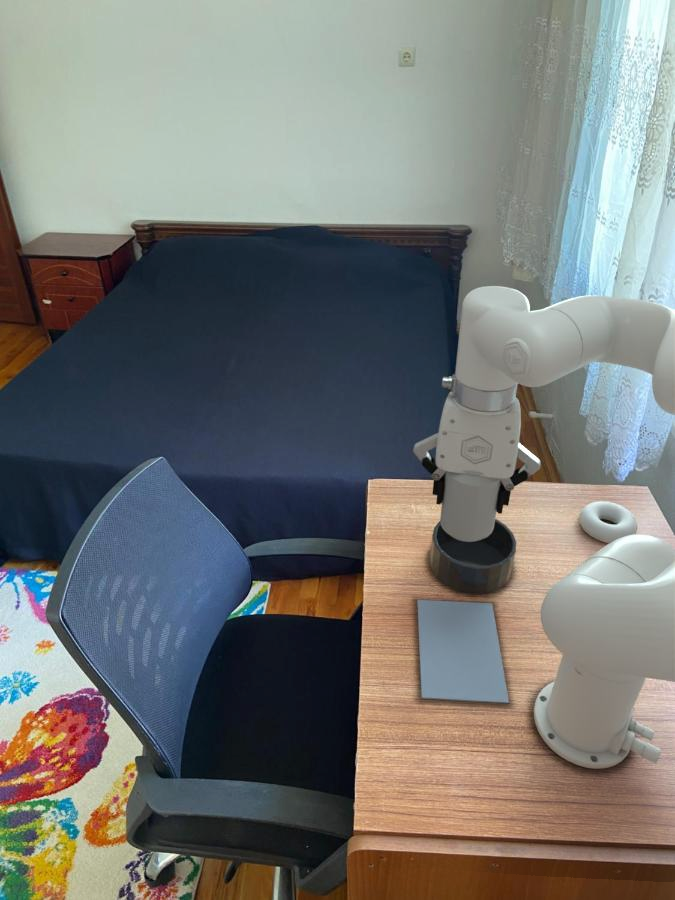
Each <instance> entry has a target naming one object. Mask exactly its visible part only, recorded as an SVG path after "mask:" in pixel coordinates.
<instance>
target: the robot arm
mask: <svg viewBox="0 0 675 900" xmlns="http://www.w3.org/2000/svg"><path fill="white" fill-rule="evenodd" d="M530 306H531V305H530V301H529V299H528V297H527V296H526V295H525V294H523V293H522V292H521V291H520V290H517V289H516V288H515V289H514V288H511V287H507V286H500V285H488V286H481V287H477V288H474V289H472V290H470V291H469V292H468V293H467V294H466V296H465V297H464V298H463V301H462V305H461V311H460V313H461V314H460V323H459V332H458V334H459V335H458V343H457V352H456V363H455V371H454V374H453V373H452V376H450V375H449V376H443V377H442V380H441V381H442V382H441V388H446V389H447V390H450V392H449V393H448V395H447V397H446V398H445V401H444V404H443V408H442V412H441V417H440V421H439V427H438V432H437V433H435V434H432V435H430V436H428V437H426V438H424V439H422V440H420V441H418V442H416V443H415V444H414V445H413V449H412V453H413V454H414V455H415V456H416V458H417V459H418V460H419V461H420V462H421V466H422V467H423V469H425V470H426V471H427V472H428V473H429V474H430V475H431V479H432V480H433V483H432V494H431V495H433V496H436V503H435V504H436V505H442V499H443V489H444V480H445V473H446V472H447V471H448V472H453V473H461V474H466V473H465V472H463V471H472V472H479V473H483V474H482V475H480V476H483V477H489V478H497V479H500V480H501V486H500V492H499V498H498V504H497V512H496V513H497V514H499V515H502V513H503V509H504V506H508V507H509V505H510V499H511V493H512V491H513V490H514V489H515V487H517V486H518V485H521V484H522V483H524V482H525V481H527V480H528V478H529V477H531V476H533V475H534V474H535V473H537V472H538V471H539V470H540V469H541V466H542V465H541V463H542V462H541V460H540V459H539V458H538V457H537V456H536V455H535V454H534V453H532V452H531V451H530V450H528V449H527V447H525V446H524V445H522V444H521V442H520V437H521V428H522V427H521V426H522V413H521V412H522V411H521V405H520V400H519V398H517V397H516V395H517V390H518V386H519V385H521V386H523V387H527V388H538V387H543V386H546V385H548V384H550V383H553V382H555V381H557V380H559V379H560V378H563V377H564V376H567V375H569V374H572V373H573V372H575V371H578V370H579V369H582V368H583V367H585V366H588V365H589V364H592V363H605V364H611V365H612V364H613V365H617V366H622V367H627V368H628V367H629V368H631V369H632V368H633V369H635V370H640V371H643V372H645V373H647V374H650V375H651V377H652V379H651V387H652V393H653V398H654V401H655V403H656V404H657V406H658V407H659V408H660V409H661V410H662V411H664V412H665V413H667V414H669V415H672V416H675V309H672V308H670V307H668V306H666V305H664V304H661V303H657V302H654V301H649V300H645V299H637V298H627V297H617V296H608V295H607V296H606V295H579V296H575V297H572V298H568V299H565V300H562V301H560V302H557V303H555V304H552V305H549V306H547V307H544V308H542V309H536V310H531V307H530ZM518 384H519V385H518ZM433 449H435V457H434V456H433V455H432V454H431V453H429V451H431V450H433ZM517 460H519V461H521V462H522V463H523V465H522V466H520V467H518V468H516V467H517ZM540 608H541V609H540V622H541V627H542V629H543V632H544V634H545V636H546V637H547V639H548V640H549V642H550V643H551V644H552V645H553V646H554V647H555V648H556V649H557V650H558V651H559V652H560V653H561V654H562V656H561V659H560V662H559V664H558V665H559V666H558V668H557V672H556V675H555V679H554V681H553V682H550V683H548V684H547V685H545V686H544V687H543V688H541V690H540V692H539V693H538V694H537V697H536V699H535V702H534V707H533V720H534V725H535V728H536V729H537V732H538V734H539V735H540V737H541V738H542V740H543V742H544V743H545V744H546V745H547V746H548V747H549V748H550V749H551V751H553V752H554V753H555V754H556V755H558V756H559V757H560V758H562V759H564V760H565V761H567V762H569V763H572V764H573V765H576V766H579V767H583V768H587V769H597V770H598V769H599V770H601V769H607V768H611V767H615V766H616V765H618V764H620V763H621V762H622V761H623V760H624V759H625V758H626V757H627V756H628V755H629V753H630V751H631V752H633V753H635V754H637V755H639V756H640V757H641V758H643V759H645V760H647V761H649V762H651V763H653V764H657V763H658V761H659V758H660V756H661V752H662V749H661V748H660V747H658V746H656V745H654V744H652V743H649V742H648V741H652V740H653V737H654V734H655V730H654V729H652V728H650V727H648V726H646V725H643V724H641V723H639V722H637V719H635V718H633V714H634V711H635V704H636V702H637V699H638V697H639V695H640V692H641V690H642V688H643V686H644V684H645V681H646V679H653V680H659V681H666V682H672V683H675V548H674V547H673V546H672V545H671V544H669V543H668V542H667V541H665V540H663V539H661V538H659V537H656V536H653V535H650V534H645V533H644V534H642V533H638V534H637V533H636V534H634V535H628V536H625V537H622V538H619V539H617V540H615V541H613V542H611V543H607V544H606V545H605V546H603V547H602V548H600V549H599V550H598V551H596V552H595V553H594V554H592V555H591V556H589V557H588V558H587V559H586V560H584V561H583V562H582V563H581V564H580V565H578V566H577V567H575V568H574V569H572V571H570V572H569V573H567V574H566V575H565V576H563V577H562V578H561V579H560V580H558V581H557V582H556V583H554V585H553V586H552V587H550V589H549V590H548V591H547V592H546V594H545V595H544V598H543V599H542V603H541V606H540ZM636 734H637V735H639V736H640V737H642V738H644V739H645V740H648V741H644V740H643V739H641V738H638V737H636Z"/></svg>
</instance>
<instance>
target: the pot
mask: <svg viewBox="0 0 675 900" xmlns="http://www.w3.org/2000/svg"><path fill="white" fill-rule="evenodd" d="M430 543H431V544H430V554H429V564H430V568H431V571H432V573H433V574H434V576H435V577H436V578H437V579H438V580H439V582H441V583H442V584H443V585H444V586H446V587H448V588H449V589H452V590H454V591H457V592H459V593H462V594H467V595H486V594H491V593H494V592H497V591H498V590H500V589H502V588H504V586H505V585H507V583H508V581H509V580H510V578H511V576H512V571H513V567H514V562H515V558H516V553H517V540H516V536H515V534H514V532H513V531H512V530H511V529H510V528H509V527H508V526H507V525H506V524H505V523H503V522H502V521H501V520H498V519H497V518H495V524H494V529H493V531H492V533H491V534H490V535H489V536H488V537H486V538H484V539H481V540H478V541H473V542H466V541H461V540H457V539H455V538H454V537H452V536H451V535H449V534H448V533H446V532H445V531H444V530H443V528H442V526H441V524H440V520H439V521H438V522H437V524H436V525H435V526H434V527H433V530H432V535H431V542H430Z"/></svg>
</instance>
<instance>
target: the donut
mask: <svg viewBox="0 0 675 900" xmlns="http://www.w3.org/2000/svg"><path fill="white" fill-rule="evenodd" d="M602 520H607V521H611V522H612V523H614V524H610V523H607V522H604V521H602ZM579 523H580V526H581V527H582V529H583V531H584V532H586V533H587V535H589V536H590V537H591V538H593V539H594V540H597V541H600V542H603V543H607V544H609V543H611V542H613V541H615V540H617V539H619V538H622V537H625V536H628V535H634V534H637V532H638V523H637V518H636V517H635V516H634V514H633V513H632V512H631V511H630V510H629V509H628V508H626V507H625V506H623V505H621V504H618V503H614V502H611V501H605V500H603V501H602V500H599V501H593V502H591V503H587V505H585V506H584V507H583V508H582V510H581V511H580V514H579Z"/></svg>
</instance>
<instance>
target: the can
mask: <svg viewBox="0 0 675 900" xmlns="http://www.w3.org/2000/svg"><path fill="white" fill-rule="evenodd" d="M463 472H465V473H466V474H461V473H453V472H448V471H447V472H446V473H445V480H444V489H443V499H442V504H441V507H440V517H439V519H440V520H439V521H440V524H441V526H442V528H443V530H444V531H445V532H446V533H448V534H449V535H451V536H452V537H454V538H455V539H457V540H461V541H466V542H473V541H478V540H481V539H484V538H486V537H488V536H489V535H490V534H491V533H492V531H493V529H494V524H495V519H497V518H496V517H497V513H498V512H497V504H498V498H499V492H500V486H501V480H500V479H497V478H489V477H483V476H480V475H482V474H483V473H479V472H472V471H463Z"/></svg>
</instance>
